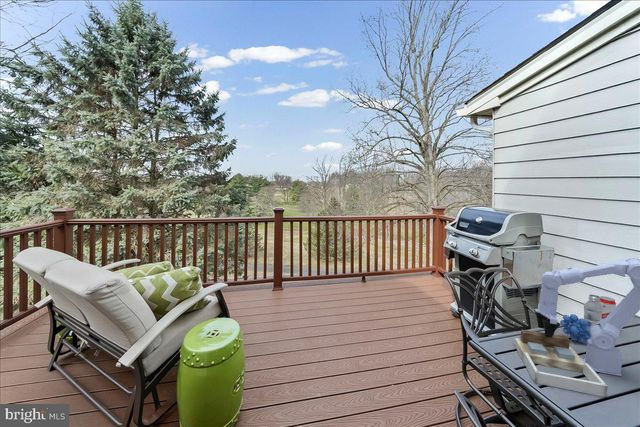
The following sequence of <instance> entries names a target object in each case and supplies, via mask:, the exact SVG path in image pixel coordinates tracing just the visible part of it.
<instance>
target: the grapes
mask: <svg viewBox="0 0 640 427" xmlns="http://www.w3.org/2000/svg"><path fill="white" fill-rule="evenodd" d="M559 323H560V326H561V327H563V328H562V332H563V333H564V334H565V335H566V336H569V338H570V339H571V340H572V341H574V342H578V341H579V342H580V343H582V344H587V342H588V339H590V338H591V335H590V333H589V328H590V326H587V321H586V320H585V319H584V318H579V316H578V315H576V314H575V313H573V314H571V313H570V315H568V314H563V315H562V319H561V320H560V321H559Z"/></svg>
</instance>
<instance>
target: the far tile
mask: <svg viewBox="0 0 640 427" xmlns="http://www.w3.org/2000/svg"><path fill="white" fill-rule="evenodd" d="M527 347H528V349H529V350H530V352H531V353H533V354H538V355H544V356H546V355H547V351H546V349H545V348H544V346H543V345H542V344H537V343H531V342H528V344H527Z"/></svg>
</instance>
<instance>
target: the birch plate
mask: <svg viewBox="0 0 640 427" xmlns="http://www.w3.org/2000/svg"><path fill="white" fill-rule="evenodd" d="M513 345H514V347H515V348H516V350H517V352H518V355H519V356H520V357H521V360H522V361H523V360H524V352H526V353H528V355H529V356H530V358H531V360H532V362H533V363H534V365H540V366H545V367H550V368H557V369H561V370H562V369H563V370H568V371H572V372H578V373H583V367H584V362H583V360H582V359H581V358H582V357H580V355H579V354H578V353H577V352H576V351H575V350H574V348H573V347H571V346H569V349H570V350H571V352H572V353H573V354H574V355H575V361H573V360H567V359H561V358H558V356H557V355H556V354H555V352H554V348H550V347H544V348H545V349H546V351H547V355H546V356H544V355H538V354H533V353H531V352H530V350H529V349H528V347H527V344H526V343H522V341H521V339H520V338H519V337H514V343H513Z"/></svg>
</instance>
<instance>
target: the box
mask: <svg viewBox="0 0 640 427" xmlns="http://www.w3.org/2000/svg"><path fill="white" fill-rule="evenodd" d="M522 361H523V364H524V366H525V367H526V369H527V372H528V373H529V375H530V376H531V378H532V379H531V380H533V383H534V384H538V385H544V386H548V387H553V388H558V389H564V390H568V391H572V392H573V391H574V392H579V393H582V394H589V395H593V396H596V397H597V396H598V397H604V398H607V396H608V395H607V394H608V385H607V384H606V382H605V381H604V380H603V379H602V378H601V377H600V376H599V374H598V373H597V372H596V371H594V370H593V369H592V368H591V367H590V366H589V364H588V363H584V367H583V372H582V374H584V376H585V377H586V378H587V380H586V379H580V378H574V377H571V376H570V377H569V376H564V375H561V374H560V375H559V374H555V373H549V372H544V371H539V370H538V369H537V367H536V364H534V363H533V362H532V360H531V358H530V356H529V355H528V353H526V352H524V360H522Z"/></svg>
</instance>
